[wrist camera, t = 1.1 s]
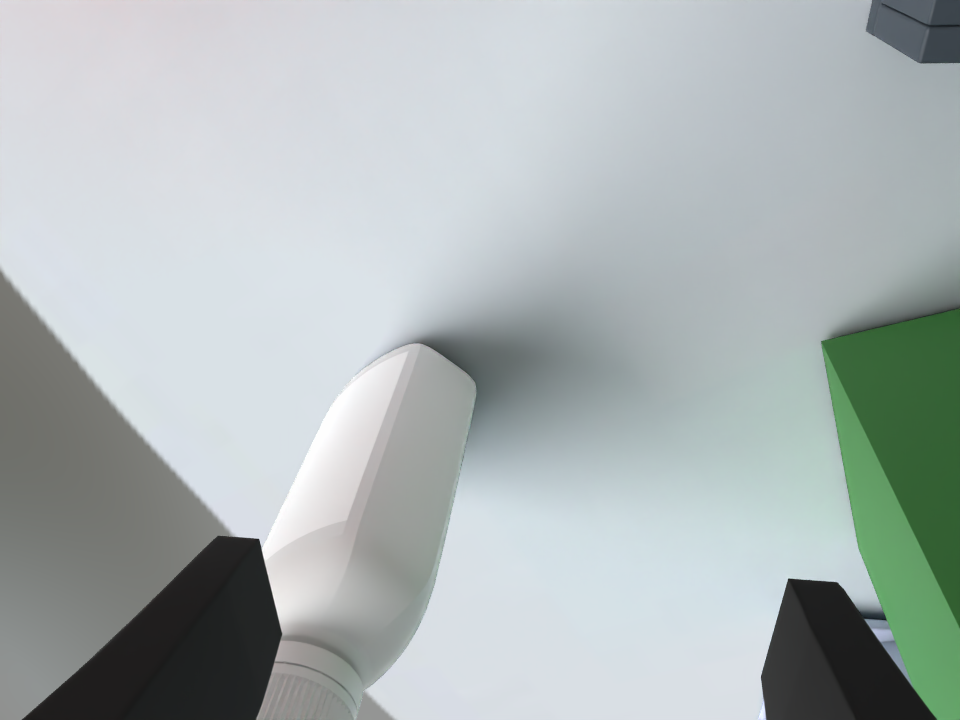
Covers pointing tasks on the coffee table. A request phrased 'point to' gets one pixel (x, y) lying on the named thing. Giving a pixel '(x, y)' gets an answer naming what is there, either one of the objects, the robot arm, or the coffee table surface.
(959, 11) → the dark grey shallow tray
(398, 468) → the eye dropper bottle
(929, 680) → the hardback book
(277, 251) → the coffee table surface
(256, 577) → the robot arm
